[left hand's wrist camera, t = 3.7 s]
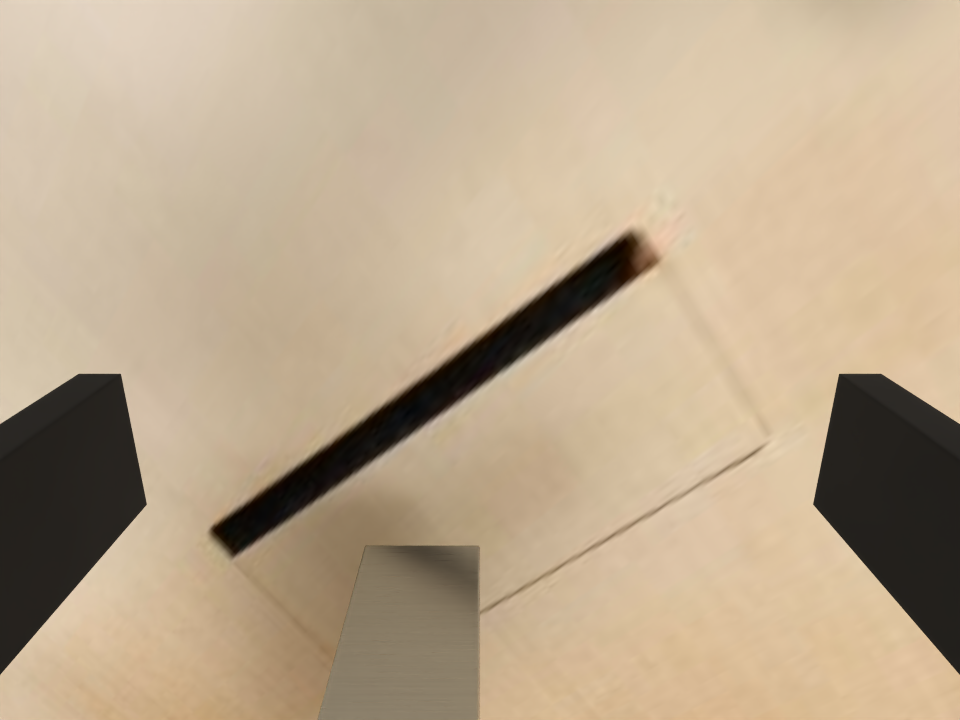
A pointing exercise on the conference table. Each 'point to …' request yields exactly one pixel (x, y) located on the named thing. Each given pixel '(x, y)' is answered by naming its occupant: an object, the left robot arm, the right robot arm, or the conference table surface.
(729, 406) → the conference table surface
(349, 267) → the conference table surface
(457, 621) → the box
